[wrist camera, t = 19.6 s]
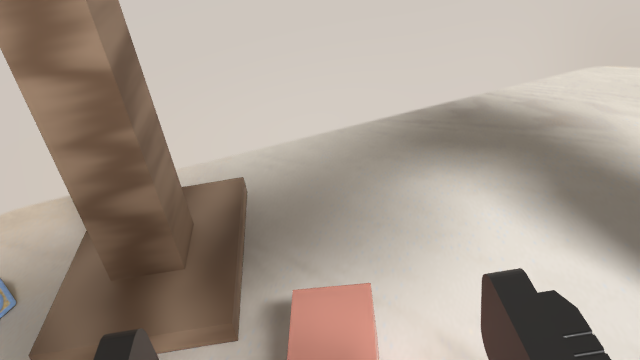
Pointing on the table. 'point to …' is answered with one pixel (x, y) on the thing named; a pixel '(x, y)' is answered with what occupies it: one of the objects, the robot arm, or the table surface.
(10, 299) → the alphabet block
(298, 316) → the salmon pink bar
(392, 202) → the table surface
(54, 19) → the brown pedestal stand
